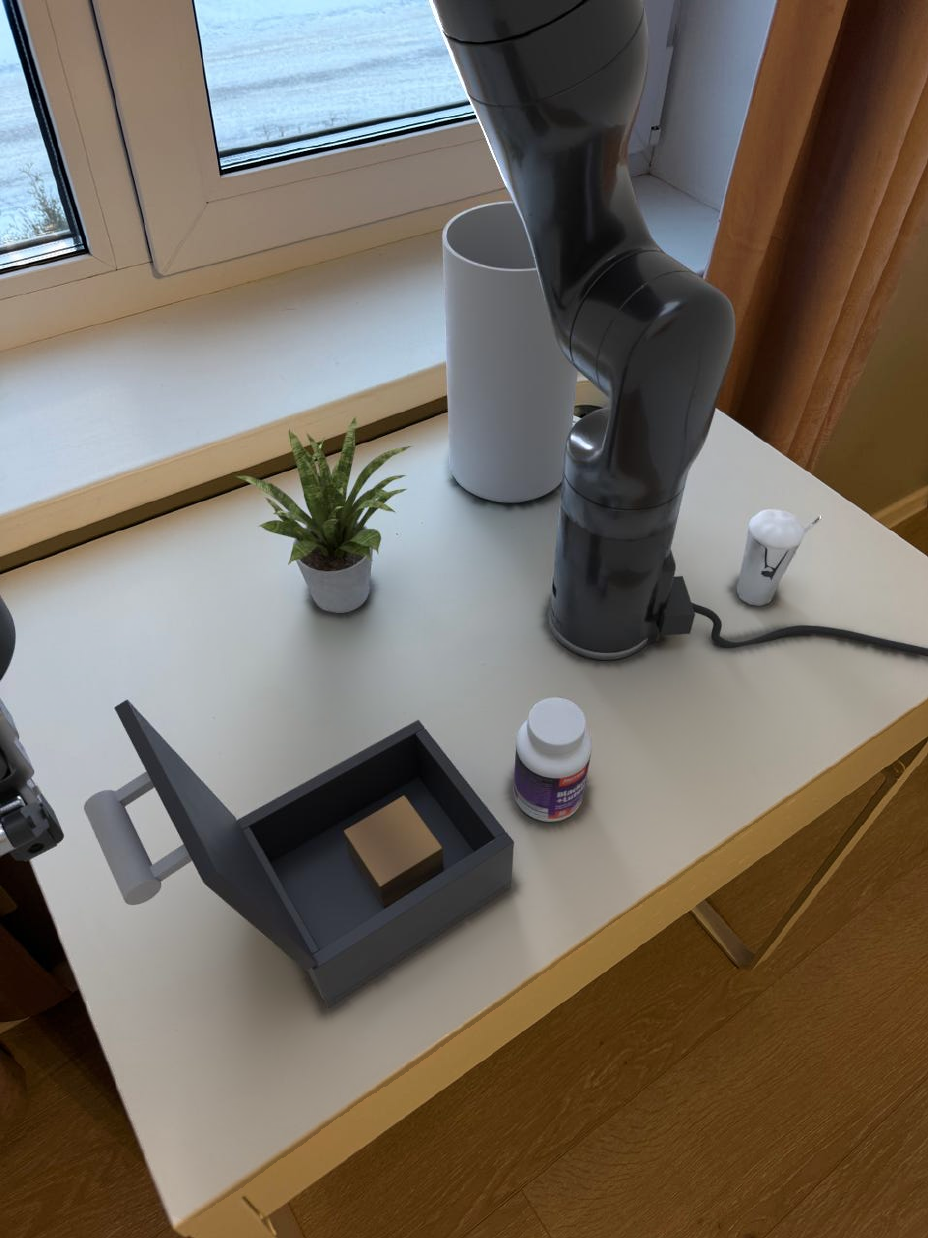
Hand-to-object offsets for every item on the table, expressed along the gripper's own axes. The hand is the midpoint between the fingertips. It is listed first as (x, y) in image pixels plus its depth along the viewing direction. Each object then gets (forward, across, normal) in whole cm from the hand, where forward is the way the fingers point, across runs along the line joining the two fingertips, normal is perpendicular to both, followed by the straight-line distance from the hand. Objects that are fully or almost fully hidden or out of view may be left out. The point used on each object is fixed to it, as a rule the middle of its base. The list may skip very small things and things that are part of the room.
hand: (38, 838), depth 41 cm
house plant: (+23, +25, -28) cm, 44 cm away
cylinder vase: (+23, +32, -51) cm, 64 cm away
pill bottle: (+23, -1, -30) cm, 38 cm away
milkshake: (+23, +4, -59) cm, 63 cm away
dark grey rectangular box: (+23, 0, -16) cm, 28 cm away
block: (+22, 0, -18) cm, 28 cm away
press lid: (+8, 0, -8) cm, 11 cm away
